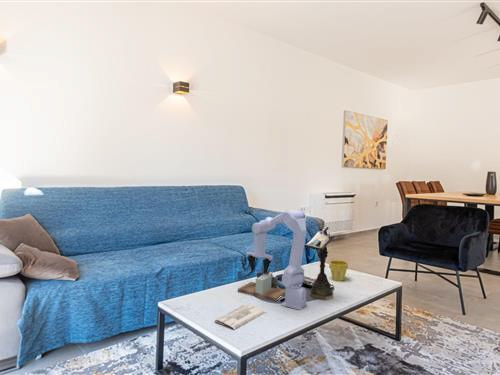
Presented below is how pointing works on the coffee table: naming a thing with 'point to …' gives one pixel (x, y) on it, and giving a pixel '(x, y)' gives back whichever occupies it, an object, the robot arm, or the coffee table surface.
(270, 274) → the game card
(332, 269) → the plant pot
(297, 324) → the coffee table surface
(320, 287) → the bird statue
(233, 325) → the newspaper
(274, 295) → the shelf board
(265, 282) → the pale green rectangular block
